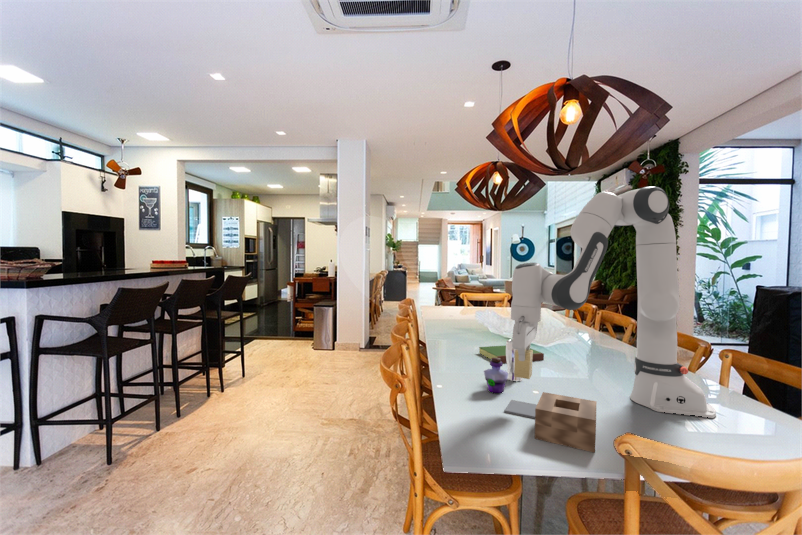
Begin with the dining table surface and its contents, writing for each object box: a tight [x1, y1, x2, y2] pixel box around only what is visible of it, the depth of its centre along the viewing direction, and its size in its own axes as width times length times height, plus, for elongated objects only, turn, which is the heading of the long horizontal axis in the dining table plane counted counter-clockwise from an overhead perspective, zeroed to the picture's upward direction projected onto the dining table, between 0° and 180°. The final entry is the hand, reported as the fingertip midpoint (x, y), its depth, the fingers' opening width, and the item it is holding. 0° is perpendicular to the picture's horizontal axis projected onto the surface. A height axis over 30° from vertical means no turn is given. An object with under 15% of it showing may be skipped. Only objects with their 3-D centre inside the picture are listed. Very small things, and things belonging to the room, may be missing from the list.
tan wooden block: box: [514, 349, 534, 380], centre depth 115 cm, size 4×4×8 cm
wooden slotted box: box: [534, 391, 598, 453], centre depth 99 cm, size 14×14×8 cm
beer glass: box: [505, 339, 523, 382], centre depth 144 cm, size 7×7×15 cm
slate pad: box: [503, 399, 538, 420], centre depth 115 cm, size 10×10×1 cm
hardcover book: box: [478, 345, 545, 364], centre depth 179 cm, size 25×19×4 cm
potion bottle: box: [483, 358, 508, 394], centre depth 131 cm, size 9×9×12 cm
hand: (523, 358), depth 115 cm, fingers closed on tan wooden block, 4 cm apart
